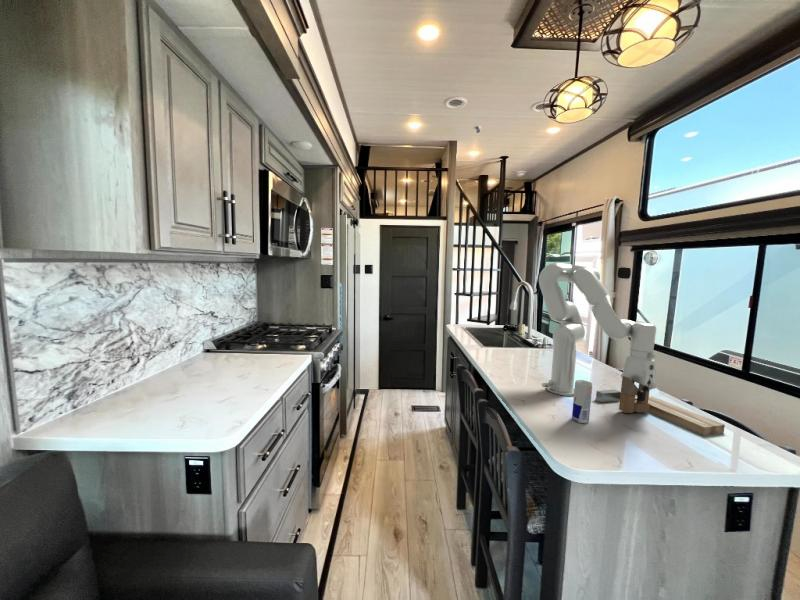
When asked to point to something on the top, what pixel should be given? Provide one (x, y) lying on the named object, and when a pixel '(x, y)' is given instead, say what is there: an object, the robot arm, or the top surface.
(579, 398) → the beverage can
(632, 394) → the wooden bracket
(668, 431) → the top surface
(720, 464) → the top surface
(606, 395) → the metal block
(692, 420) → the light brown wooden board
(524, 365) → the top surface
